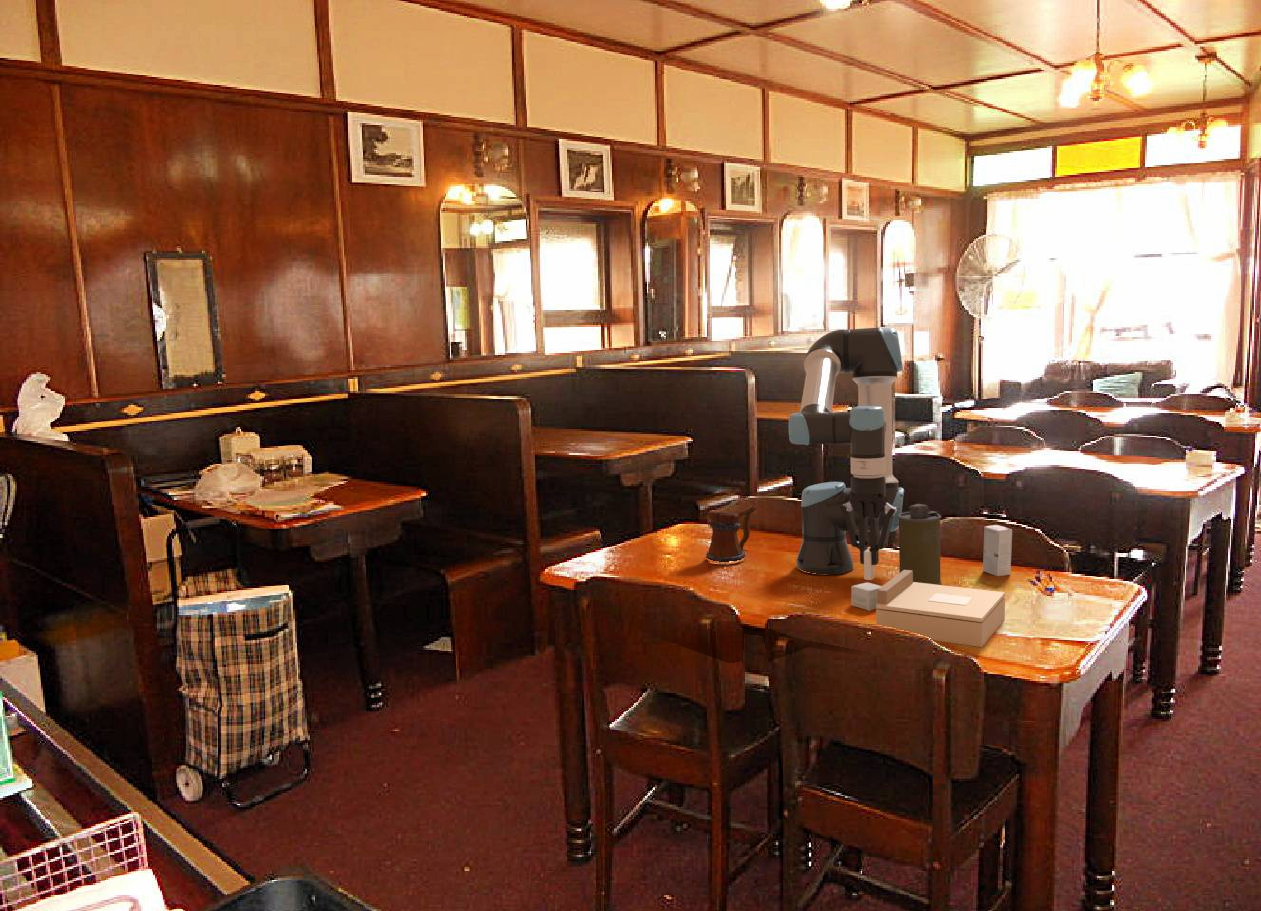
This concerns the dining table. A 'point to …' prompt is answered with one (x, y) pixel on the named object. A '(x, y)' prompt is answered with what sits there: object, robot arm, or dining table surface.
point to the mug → (728, 535)
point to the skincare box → (997, 550)
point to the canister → (920, 544)
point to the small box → (865, 596)
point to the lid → (936, 599)
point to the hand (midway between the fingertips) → (869, 578)
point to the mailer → (945, 625)
